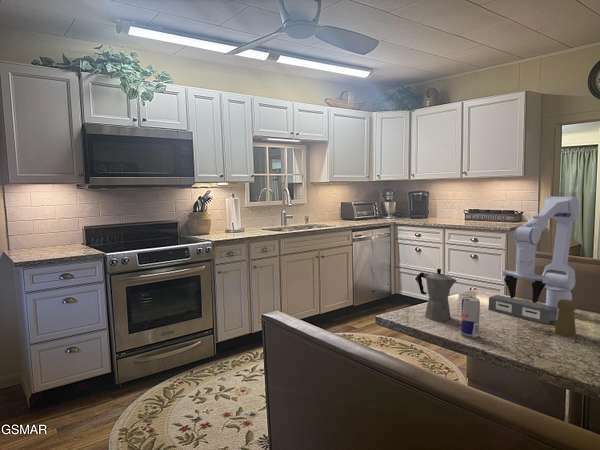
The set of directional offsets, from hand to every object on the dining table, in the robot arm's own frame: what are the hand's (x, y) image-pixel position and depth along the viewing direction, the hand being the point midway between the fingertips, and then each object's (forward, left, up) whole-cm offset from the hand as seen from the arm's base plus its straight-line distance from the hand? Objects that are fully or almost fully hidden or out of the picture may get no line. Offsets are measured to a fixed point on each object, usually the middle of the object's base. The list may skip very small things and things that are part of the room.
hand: (523, 299), depth 145 cm
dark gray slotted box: (-9, -5, -8) cm, 13 cm away
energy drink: (+26, -4, -9) cm, 28 cm away
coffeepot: (+18, -23, -9) cm, 30 cm away
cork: (-1, +13, -9) cm, 16 cm away
